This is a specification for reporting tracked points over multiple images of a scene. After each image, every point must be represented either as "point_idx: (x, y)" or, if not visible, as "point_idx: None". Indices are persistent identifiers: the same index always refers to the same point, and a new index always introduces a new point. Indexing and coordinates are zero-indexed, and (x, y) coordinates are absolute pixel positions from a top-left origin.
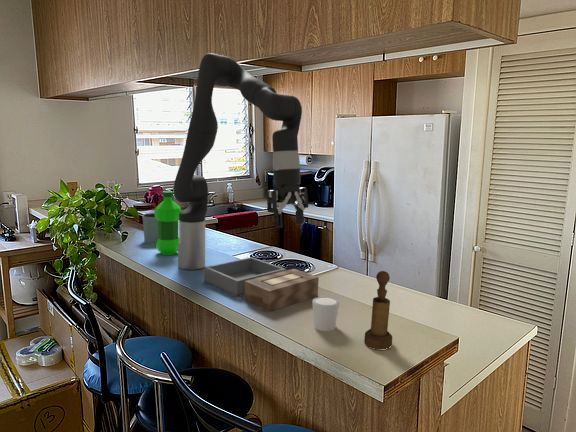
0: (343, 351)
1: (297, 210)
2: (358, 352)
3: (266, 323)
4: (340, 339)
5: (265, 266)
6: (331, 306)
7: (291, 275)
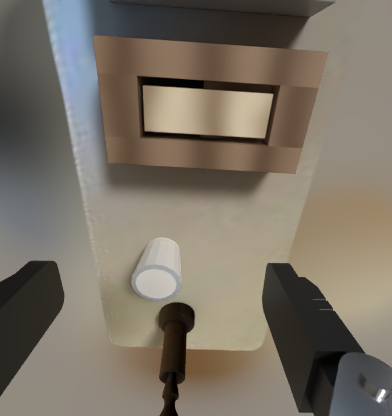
0: (127, 300)
1: (323, 376)
2: (140, 310)
3: (87, 185)
4: None
5: None
6: (147, 299)
7: (255, 107)
